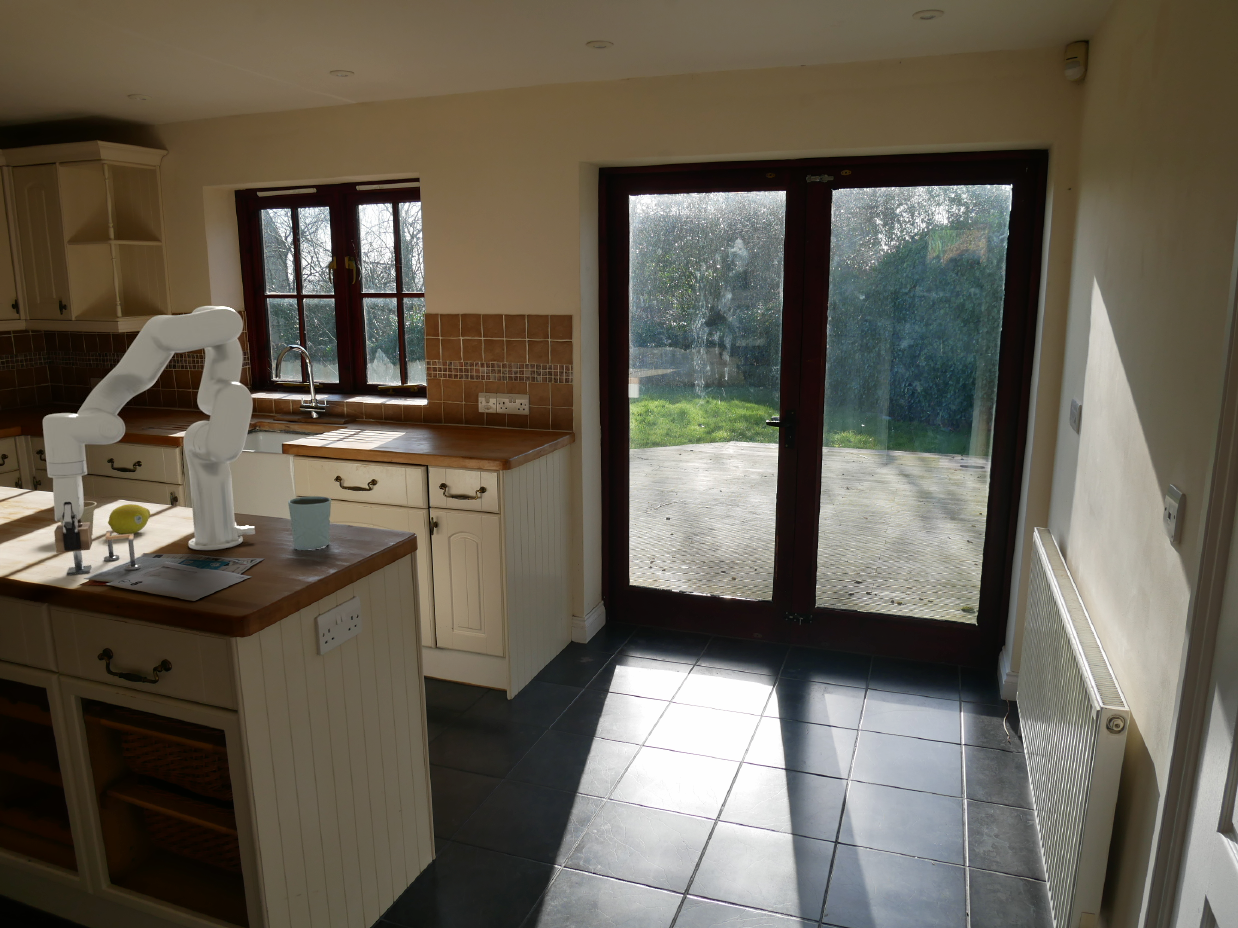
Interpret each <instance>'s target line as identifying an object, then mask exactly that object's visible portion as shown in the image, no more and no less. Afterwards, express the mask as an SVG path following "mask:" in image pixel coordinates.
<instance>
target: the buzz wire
mask: <svg viewBox="0 0 1238 928" xmlns="http://www.w3.org/2000/svg"><path fill="white" fill-rule="evenodd" d="M104 539H105V541H106V542H107V549H108V550H107V551H108V555H106V556H104V557H103V561H104V562H114V561H118V560H120V555H118V554H115V553H114V546H113V545H114V544H113V540H118V539H119V540H120V539H127V541H128V552H129V562H130V564H128V565H125V570H126V571H136V569H137V570H140V569H141V568H142V564H141V563H136V556H135V555H136V554H135V546H134V534H125V535H120V534H116V535H112V530H106V533H105V538H104ZM139 568H140V569H139Z"/></svg>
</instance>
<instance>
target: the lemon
mask: <svg viewBox="0 0 1238 928" xmlns="http://www.w3.org/2000/svg"><path fill="white" fill-rule="evenodd" d="M150 517H151V511H150V509H149V508H146V507H144V506H141V505H139V504H136V503H135V504H133V503H131V504H130V503H128V504H123V505H119V506H118V507H116V508H114V509H113V510H112V511H111V513H110V515H109V518H108V521H107V523H108V526H109V527H110V529H111V531H113V532H114V533H115V534H116V535H125V534H133V535H134V534H137V533H138V532H140V531H141V530H142V529H144V528H145V527H146V526H147V523H148V521H149V519H150Z"/></svg>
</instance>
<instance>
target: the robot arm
mask: <svg viewBox="0 0 1238 928" xmlns="http://www.w3.org/2000/svg"><path fill="white" fill-rule="evenodd" d="M243 328H244V322H243V319H242V316H241V315H240V314H239V313H238V312H237V311H235V310H234V309H233V308H230V307H227V306H215V305H205V306H199V307H196V308H195V309H194V310H193V311H192V312H191V313H187V314H180V315H179V314H178V315H166V314H163V315H155V316H153V317H152V318H150V319H149V320H147V322H146V323H145V324H144V325H143V327H142V328H141V330H140V331H139V333H138V335H137V336H136V338H135V339H134V340H133V342H132V343H131V345H130V346H129V348H128V349H127V351H126V352H125V353H124V355H123V357H122V358H121V359H120V361H119V362H118V364H117V365H115V367H114V368H113V369H112V370H111V371H110V372H109V373H108V374H107V375H106V376H105V377H104V378H103V379H102V380H101V381H100V382H98V384H97V385H96V386H95V387H94V388H93V389H92V390H91V392H90V393H89V394H88V396H87V397H86V399H85V401H84V402H83V403H82V405H81V407H80V408H79V410H78V411H77V413H74V412H73V413H71V412H61V413H52V414H48V415H46V416H44V417H43V419H42V429H43V431H42V433H43V440H44V451H45V460H46V471H47V478H52V489H53V490H52V491H53V495H52V496H53V505H54V506H53V509H54V521H56V522H60V520H61V518H62V517H63V541H64V550H65V551H69V550H80V549H81V539H80V532H78V523H82V519H81V516H82V514H83V511H84V501H85V500H84V488H83V487H84V485H83V477H82V476H85V475H88V468H87V457H86V447H85V446H86V445H102V446H103V445H104V446H105V445H111V444H115V443H117V442H119V441H120V440H121V439H122V438H123V437H124V435H125V433H126V425H125V421H124V420H123V419H122V418H121V417H120V416H119V415H118V414H119V412H120V411H121V409H123V407H124V406H125V405H126V404H127V402H129V401H130V400H131V399H132V398H133V397H136V396H137V395H139V394H141V393H143V392H144V391H146V390H148V389H150V388H151V387H152V386H153V385H154V384H155V383H156V381H158V379H159V377H160V375H161V374H162V373H163V371H164V370H165V368H166V367H167V365H168V363H169V362H170V360H171V359H172V357H173V356H174V354H175V353H186V352H191V351H197V350H201V349H204V353H205V359H204V367H203V371H202V375H201V381H200V385H199V389H198V393H197V397H196V398H197V400H196V401H197V405H198V408H199V410H200V411H202V412H203V413H204V414H206V415H208V416H210V417H209V420H201V421H197V422H194V423H192V424H190V426H189V427H187V429H186V430H185V432H184V435H183V449H184V453H185V454H184V455H185V458H186V461H187V466H188V473H189V475H188V476H189V483H190V487H189V488H190V497H191V498H190V499H191V509H192V518H193V519H192V520H193V521H192V522H193V533H194V537H193V538H191V539H190V540H189V541H188V547H189V548H190V549H192V550H198V551H217V550H223V549H226V548H227V549H228V548H232V547H235V546H238V545H239V544H241V543H242V542H243V541H244V540H243V539H244V538H243V536H244V535H255V534H256V530H255V526H249V525H245V526H239V525H237V522H236V520H235V519H236V518H235V509H234V506H235V505H234V495H233V482H232V481H233V480H232V472H231V467H230V463H232V462H234V461H236V460H237V459H238V458H239V457H240V455H241V454H242V452H243V450H244V448H245V445H246V441H247V436H248V431H249V428H250V423H251V419H252V413H253V407H254V406H253V397H252V394H251V392H250V391H249V389H248V388H247V386H245V385H244V384H242V383H241V382H240V381H241V375H242V374H241V373H242V370H243V368H242V367H243V360H244V357H243V349H242V346H241V343H240V341H239V339H238V338H239V337H240V335H241V334H242V333H243ZM74 523H75V524H74ZM74 525H75V526H74ZM242 535H243V536H242Z"/></svg>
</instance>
